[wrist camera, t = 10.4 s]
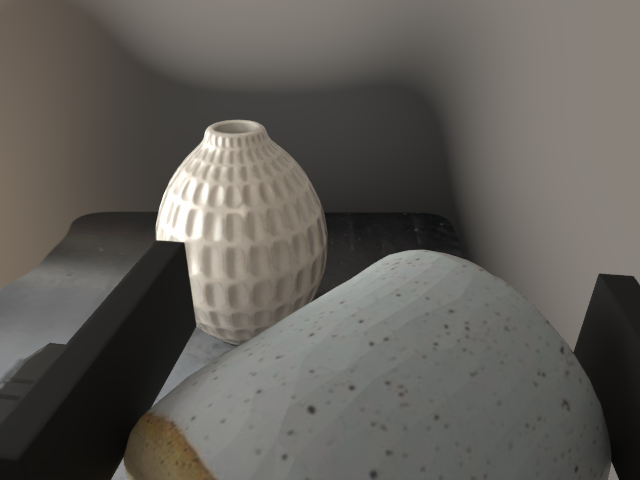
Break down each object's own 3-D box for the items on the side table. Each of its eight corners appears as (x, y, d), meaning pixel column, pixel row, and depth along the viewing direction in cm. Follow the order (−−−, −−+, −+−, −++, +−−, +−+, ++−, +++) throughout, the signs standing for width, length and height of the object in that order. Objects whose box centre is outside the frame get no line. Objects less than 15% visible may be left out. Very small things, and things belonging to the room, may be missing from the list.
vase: (354, 344, 40) (365, 140, 32) (194, 399, 35) (160, 173, 27) (288, 267, 50) (283, 96, 42) (155, 301, 45) (122, 114, 37)
